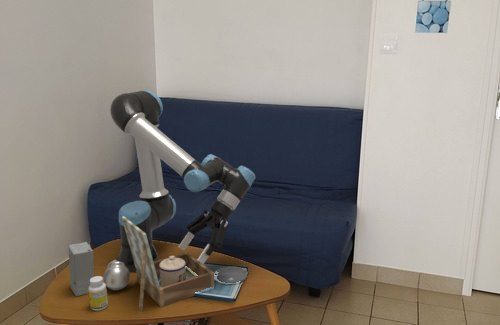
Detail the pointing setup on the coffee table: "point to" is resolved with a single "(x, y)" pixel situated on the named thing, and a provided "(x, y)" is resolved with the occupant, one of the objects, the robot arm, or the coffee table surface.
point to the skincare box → (80, 267)
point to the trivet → (231, 274)
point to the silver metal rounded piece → (116, 275)
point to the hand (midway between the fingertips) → (190, 255)
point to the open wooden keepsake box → (151, 271)
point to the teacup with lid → (172, 271)
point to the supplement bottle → (98, 293)
